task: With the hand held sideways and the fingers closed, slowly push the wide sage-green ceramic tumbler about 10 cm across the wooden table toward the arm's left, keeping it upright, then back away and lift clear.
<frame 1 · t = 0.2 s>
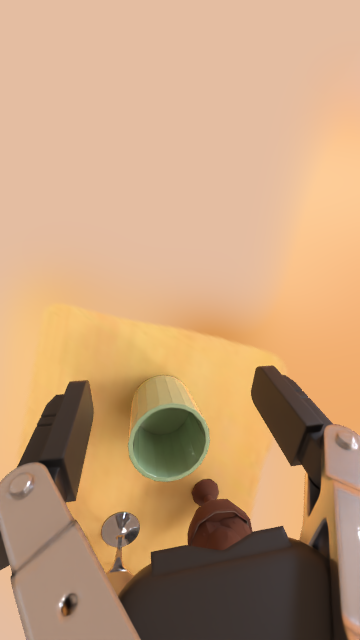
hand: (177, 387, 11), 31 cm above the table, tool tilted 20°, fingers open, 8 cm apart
tumbler: (162, 404, 43), on the table
wine glass: (120, 528, 44), on the table
ice cream bowl: (205, 491, 47), on the table
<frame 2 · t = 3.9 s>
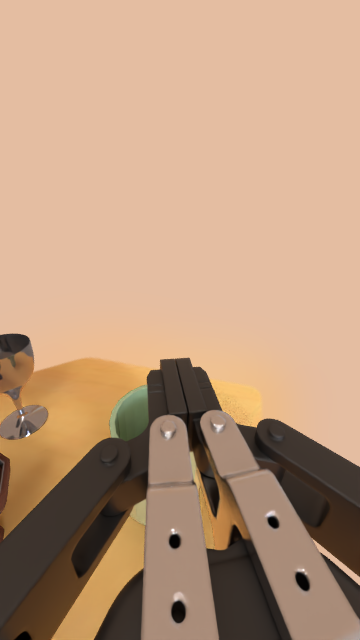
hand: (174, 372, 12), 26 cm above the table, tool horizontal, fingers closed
tumbler: (159, 477, 32), on the table
wine glass: (24, 421, 40), on the table
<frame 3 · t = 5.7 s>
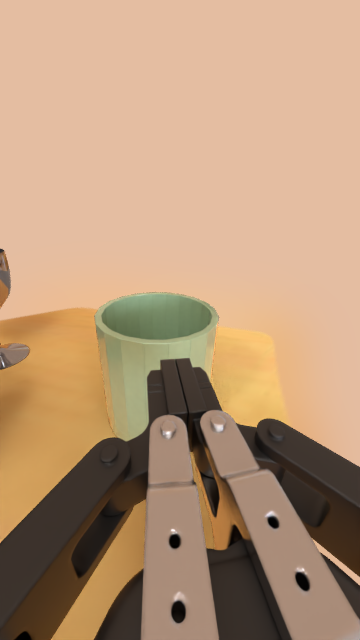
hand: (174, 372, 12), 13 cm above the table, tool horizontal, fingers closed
tumbler: (158, 406, 27), on the table
wine glass: (1, 357, 34), on the table
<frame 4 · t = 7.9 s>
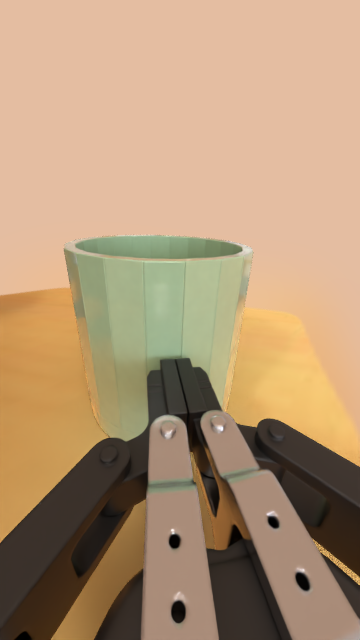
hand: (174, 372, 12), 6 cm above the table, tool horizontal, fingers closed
tumbler: (161, 390, 20), on the table, touching gripper
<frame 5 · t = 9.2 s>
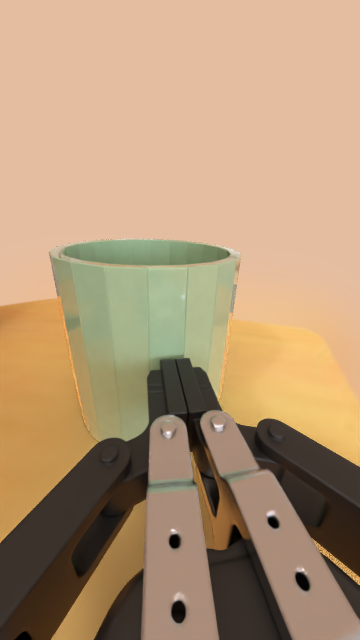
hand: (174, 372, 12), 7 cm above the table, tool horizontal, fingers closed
tumbler: (152, 394, 20), on the table, touching gripper
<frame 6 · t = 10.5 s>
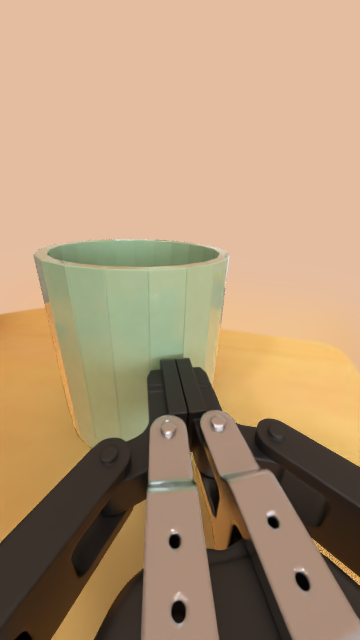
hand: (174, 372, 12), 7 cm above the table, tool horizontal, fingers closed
tumbler: (144, 395, 20), on the table, touching gripper
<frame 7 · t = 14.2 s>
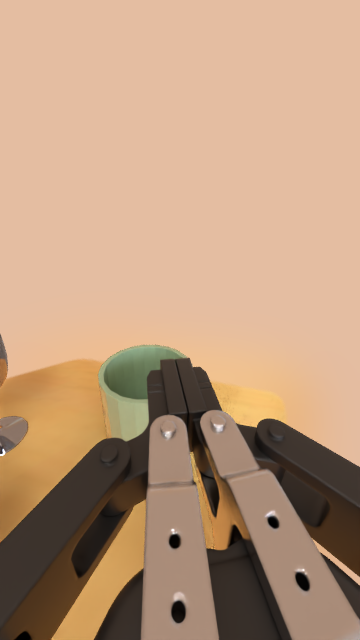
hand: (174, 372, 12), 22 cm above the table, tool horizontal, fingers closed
tumbler: (149, 437, 33), on the table
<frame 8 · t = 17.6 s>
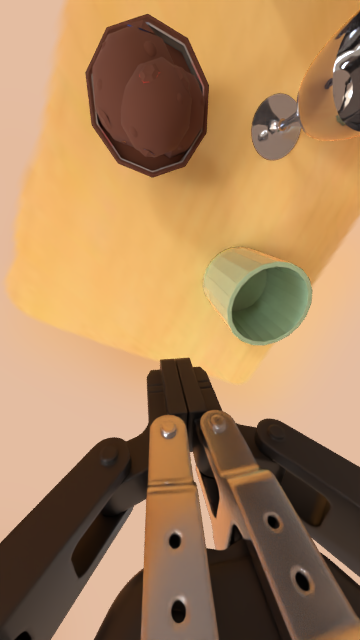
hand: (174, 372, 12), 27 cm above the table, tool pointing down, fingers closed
tumbler: (234, 280, 40), on the table
wine glass: (275, 129, 31), on the table
ice cream bowl: (146, 135, 29), on the table
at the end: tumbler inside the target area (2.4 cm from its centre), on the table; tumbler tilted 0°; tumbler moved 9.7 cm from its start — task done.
